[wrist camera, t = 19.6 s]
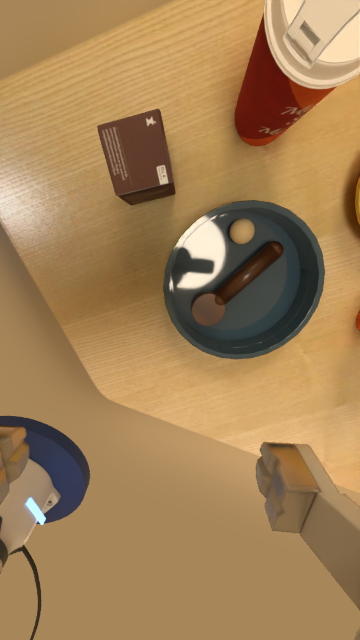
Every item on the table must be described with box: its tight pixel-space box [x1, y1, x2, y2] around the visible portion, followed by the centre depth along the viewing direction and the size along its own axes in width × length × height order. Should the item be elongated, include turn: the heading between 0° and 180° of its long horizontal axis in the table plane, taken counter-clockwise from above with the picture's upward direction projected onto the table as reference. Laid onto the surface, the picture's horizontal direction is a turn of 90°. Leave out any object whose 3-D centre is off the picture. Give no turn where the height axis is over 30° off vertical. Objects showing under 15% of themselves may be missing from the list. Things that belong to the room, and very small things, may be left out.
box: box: [97, 109, 175, 205], centre depth 25 cm, size 6×6×7 cm
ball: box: [230, 218, 255, 244], centre depth 29 cm, size 3×3×3 cm
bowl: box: [164, 200, 325, 359], centre depth 30 cm, size 19×19×5 cm
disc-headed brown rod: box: [191, 241, 284, 326], centre depth 31 cm, size 15×5×2 cm, turn 134°
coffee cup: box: [235, 0, 360, 146], centre depth 19 cm, size 8×8×15 cm
